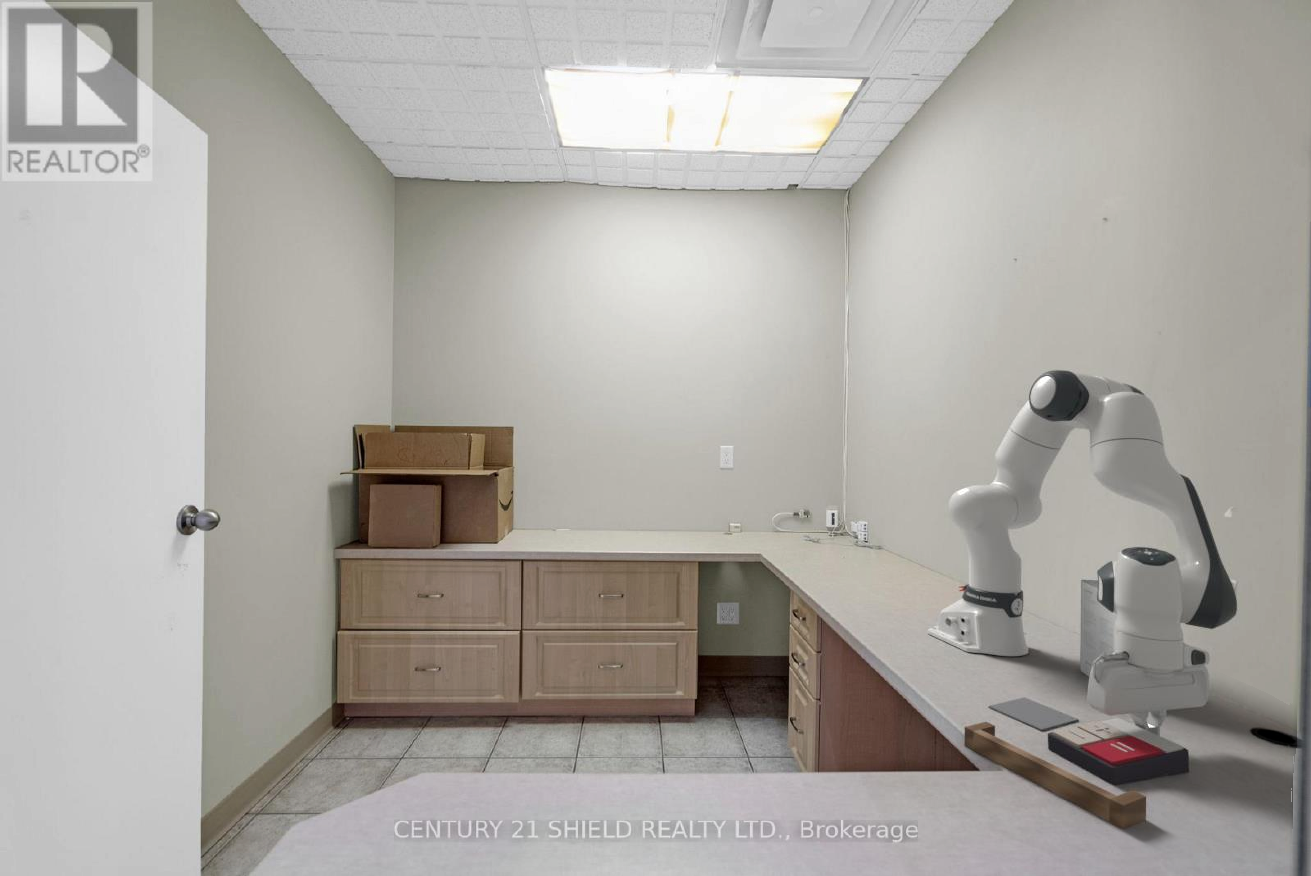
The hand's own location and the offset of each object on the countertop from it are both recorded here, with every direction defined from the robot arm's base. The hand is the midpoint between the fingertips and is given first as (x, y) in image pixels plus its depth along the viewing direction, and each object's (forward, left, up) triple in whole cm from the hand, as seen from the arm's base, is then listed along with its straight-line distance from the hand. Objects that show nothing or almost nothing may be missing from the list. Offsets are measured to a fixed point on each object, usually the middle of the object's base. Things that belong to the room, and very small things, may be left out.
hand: (1147, 736), depth 100 cm
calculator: (0, -9, -2) cm, 9 cm away
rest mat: (-15, -6, -2) cm, 16 cm away
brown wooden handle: (0, -25, -2) cm, 25 cm away
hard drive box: (-17, +23, -2) cm, 29 cm away
